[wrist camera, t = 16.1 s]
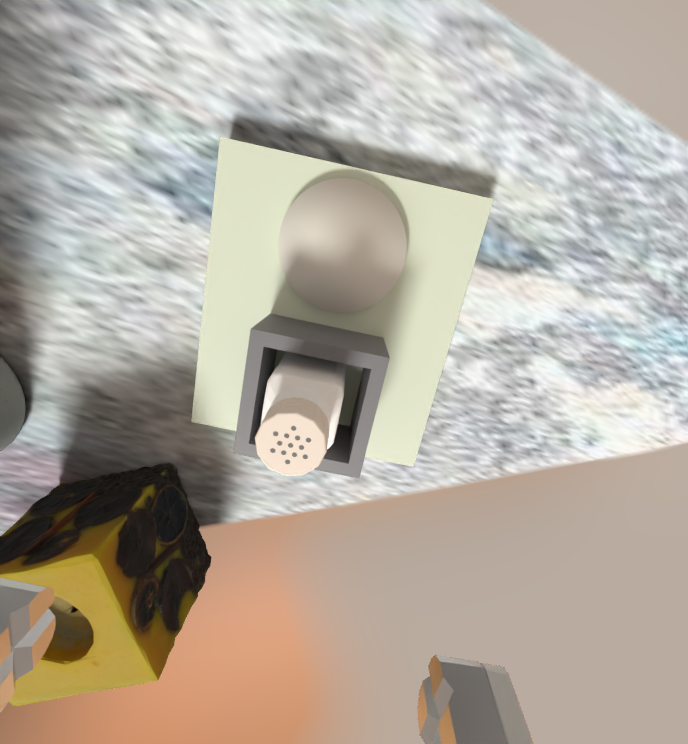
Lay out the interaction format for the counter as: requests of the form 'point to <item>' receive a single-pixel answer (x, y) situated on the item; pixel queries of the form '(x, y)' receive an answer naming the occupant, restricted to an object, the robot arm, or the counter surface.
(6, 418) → the water bottle
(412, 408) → the cream holder tray
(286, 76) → the counter surface
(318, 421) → the salt shaker
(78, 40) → the counter surface
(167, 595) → the candle
